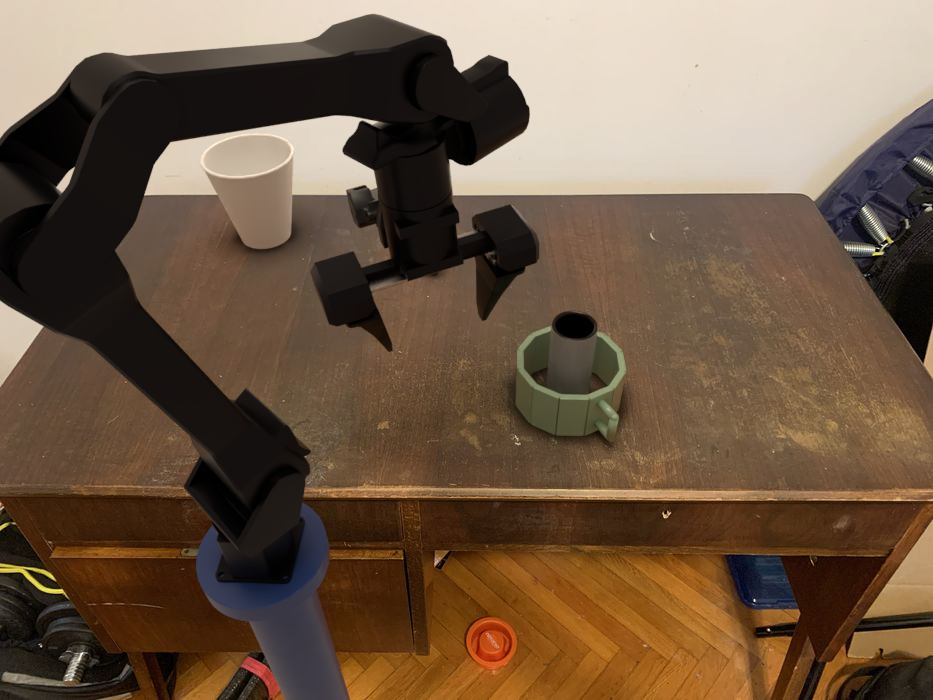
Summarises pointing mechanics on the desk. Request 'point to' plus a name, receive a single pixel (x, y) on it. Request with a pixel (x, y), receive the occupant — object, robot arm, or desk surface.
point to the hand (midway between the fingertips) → (436, 332)
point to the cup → (254, 185)
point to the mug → (569, 409)
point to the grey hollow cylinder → (571, 352)
